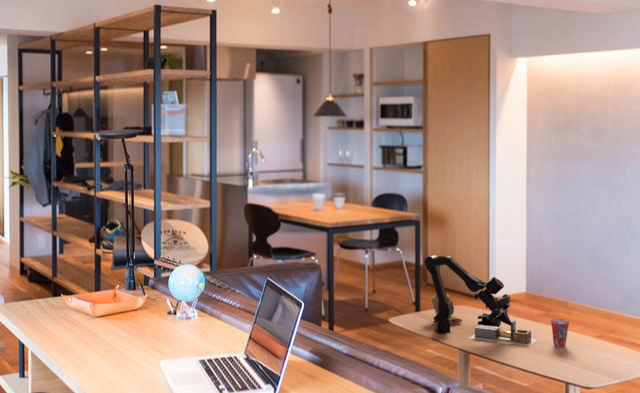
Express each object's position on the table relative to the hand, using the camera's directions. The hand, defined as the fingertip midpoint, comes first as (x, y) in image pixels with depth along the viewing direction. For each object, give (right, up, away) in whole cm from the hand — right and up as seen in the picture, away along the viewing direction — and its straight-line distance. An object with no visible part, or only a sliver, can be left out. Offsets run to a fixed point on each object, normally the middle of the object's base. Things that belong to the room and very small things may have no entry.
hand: (511, 325), depth 389 cm
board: (-4, -8, +3) cm, 9 cm away
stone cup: (-26, -5, +37) cm, 46 cm away
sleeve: (-10, -7, +7) cm, 14 cm away
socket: (+5, -8, -2) cm, 9 cm away
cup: (+21, -9, -9) cm, 24 cm away
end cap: (-6, -6, +25) cm, 26 cm away
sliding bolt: (-1, -7, +1) cm, 7 cm away
